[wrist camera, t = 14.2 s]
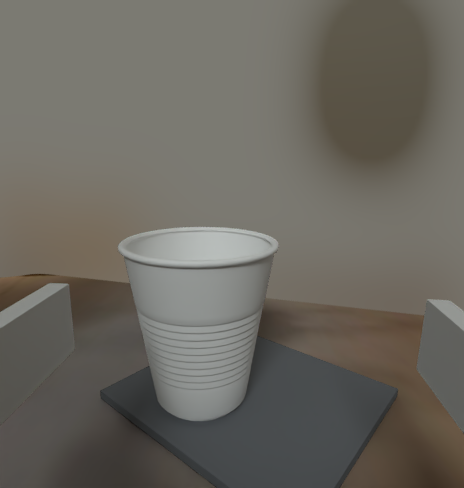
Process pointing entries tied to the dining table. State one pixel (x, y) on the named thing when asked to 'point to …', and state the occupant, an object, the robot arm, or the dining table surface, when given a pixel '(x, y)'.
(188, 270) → the cup
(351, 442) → the mat
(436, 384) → the robot arm
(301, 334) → the dining table surface
